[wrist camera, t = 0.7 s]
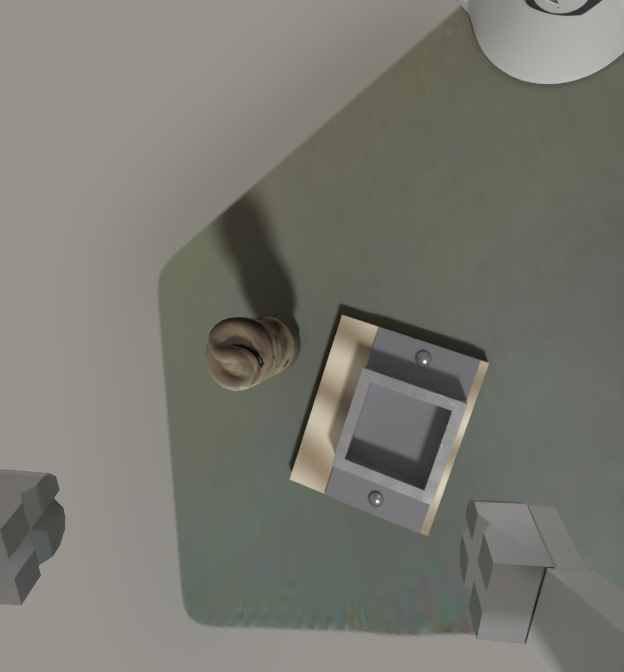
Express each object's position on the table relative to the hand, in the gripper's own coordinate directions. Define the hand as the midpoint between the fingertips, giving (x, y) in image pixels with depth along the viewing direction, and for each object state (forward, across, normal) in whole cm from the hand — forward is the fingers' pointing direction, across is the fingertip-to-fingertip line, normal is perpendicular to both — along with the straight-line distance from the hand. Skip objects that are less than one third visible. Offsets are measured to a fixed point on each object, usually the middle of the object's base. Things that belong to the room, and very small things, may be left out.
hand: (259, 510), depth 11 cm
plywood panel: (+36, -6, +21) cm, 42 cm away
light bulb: (+40, +3, +15) cm, 43 cm away
